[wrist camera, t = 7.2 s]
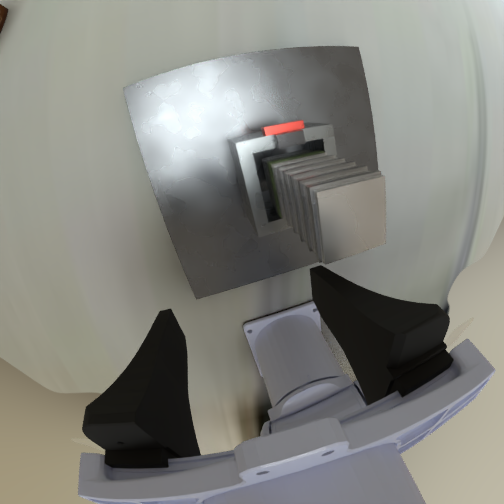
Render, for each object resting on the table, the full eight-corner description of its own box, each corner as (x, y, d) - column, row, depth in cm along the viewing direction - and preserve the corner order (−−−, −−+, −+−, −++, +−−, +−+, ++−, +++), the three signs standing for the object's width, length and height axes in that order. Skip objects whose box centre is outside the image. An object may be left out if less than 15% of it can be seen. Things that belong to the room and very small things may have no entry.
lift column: (314, 192, 18) (387, 245, 11) (269, 204, 18) (322, 268, 11) (307, 146, 16) (386, 172, 9) (259, 157, 16) (313, 189, 9)
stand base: (374, 236, 25) (408, 263, 20) (196, 292, 24) (198, 336, 19) (352, 48, 16) (393, 37, 12) (126, 89, 15) (102, 79, 10)
